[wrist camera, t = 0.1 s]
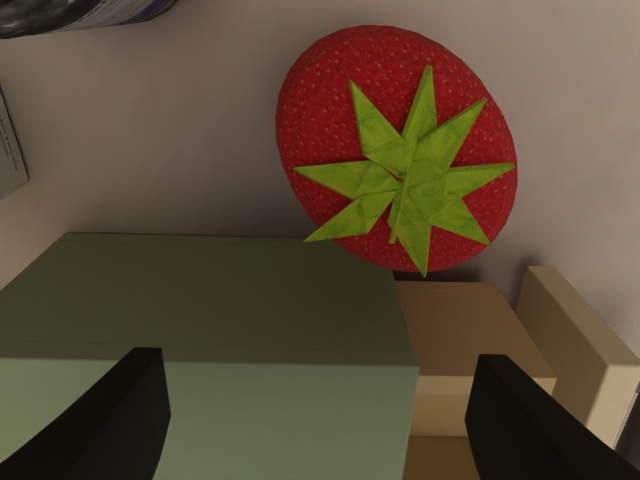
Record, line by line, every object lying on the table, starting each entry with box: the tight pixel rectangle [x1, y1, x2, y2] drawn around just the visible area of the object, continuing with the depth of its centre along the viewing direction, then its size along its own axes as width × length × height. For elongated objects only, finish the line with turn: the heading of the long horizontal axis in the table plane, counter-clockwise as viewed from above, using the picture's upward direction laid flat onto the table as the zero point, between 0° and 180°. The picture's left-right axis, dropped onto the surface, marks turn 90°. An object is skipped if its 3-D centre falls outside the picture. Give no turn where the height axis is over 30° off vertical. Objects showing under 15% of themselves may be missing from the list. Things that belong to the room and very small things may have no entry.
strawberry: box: [275, 25, 518, 278], centre depth 14 cm, size 6×8×10 cm
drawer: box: [395, 266, 640, 480], centre depth 20 cm, size 16×10×6 cm, turn 88°
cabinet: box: [0, 233, 420, 480], centre depth 19 cm, size 14×12×8 cm
